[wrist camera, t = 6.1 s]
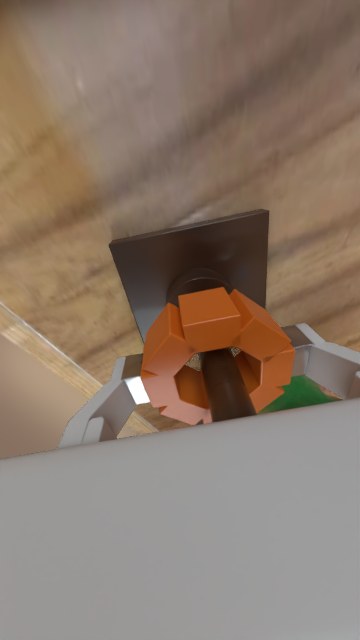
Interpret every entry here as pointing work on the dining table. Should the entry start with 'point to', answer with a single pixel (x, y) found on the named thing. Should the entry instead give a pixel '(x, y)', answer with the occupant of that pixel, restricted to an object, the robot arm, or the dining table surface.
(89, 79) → the dining table surface
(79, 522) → the robot arm
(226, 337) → the ring
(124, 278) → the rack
